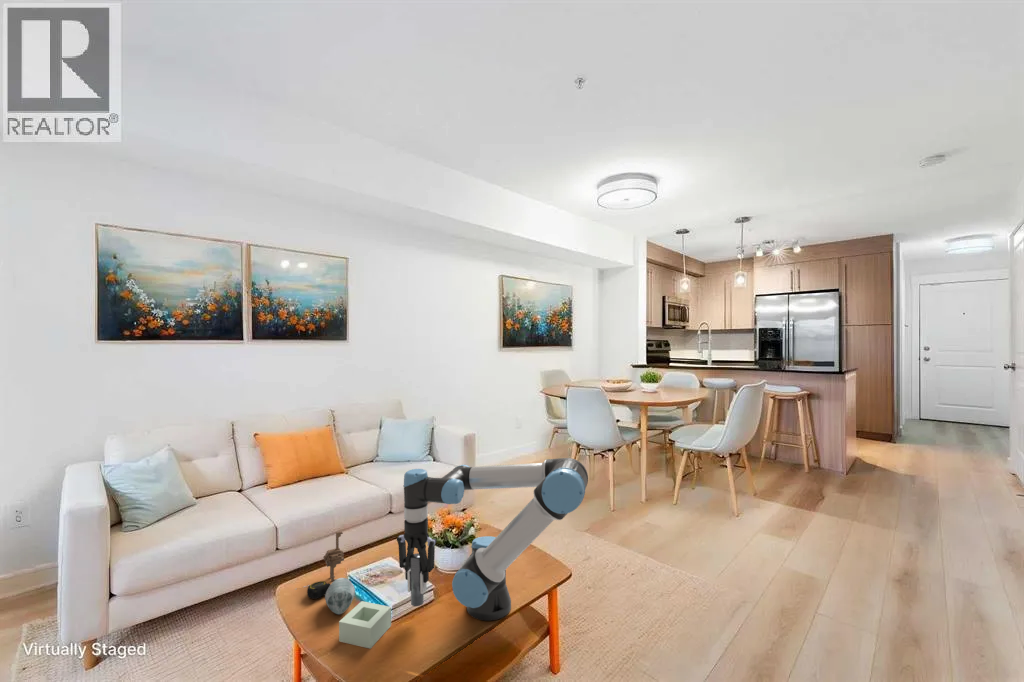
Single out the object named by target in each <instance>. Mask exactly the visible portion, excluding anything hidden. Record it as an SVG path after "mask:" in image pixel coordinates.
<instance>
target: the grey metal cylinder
mask: <svg viewBox="0 0 1024 682" xmlns="http://www.w3.org/2000/svg"><path fill="white" fill-rule="evenodd" d="M410 569H411V591H410V604H411V606H413V607H420V606H422V605H423V604H424V598H425V597H424V593H423V594H420V573H421V572H422V567H421V562H420V556H419V552H418V553H414V554H413V555H412V556H411V557H410Z"/></svg>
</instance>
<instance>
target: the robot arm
mask: <svg viewBox="0 0 1024 682" xmlns="http://www.w3.org/2000/svg"><path fill="white" fill-rule="evenodd" d="M403 477H404V478H403V501H404V503H403V505H404V506H403V518H404V520H403V521H404V522H403V523H404V524H403V526H404V527H403V528H404V529H403V530H404V533H403V534H400V535H398V537H397V538H396V542H397V545H398V559H399V561H398V564H399V568H400V569H403V570H404V572H405V573H404V574H405V576H404V577H405V580H406V581H407V593H411V569H410V557H411V556H412V555H413V554H415V549H416V550H417V552H418V553H419V556H420V562H421V567H422V572H421V573H420V594H423V595H424V593H425V592H426V591H427V589H428V588H427V586H428V584H427V583H428V581H429V580H430V579H429V578H430V576H429V574H430V573H431V572H432V571H433V569H434V568H435V552H436V550H435V548H436V543H437V541H438V540H437V539H436V538H431V537H430V535H429V533H428V532H429V530H428V529H429V518H428V516H429V515H428V514H429V512H428V508H429V507H428V505H429V504H428V503H437V504H445V505H446V504H447V505H453V504H454V505H458V504H460V503H461V502H462V500H463V498H464V495H465V491H471V490H472V491H473V490H493V489H496V490H497V489H518V488H519V489H520V488H534V490H533V498H532V499H530V501H529V502H528V503H527V504H526V505H525V506H524V508H522V510H521V511H519V512H518V514H517V515H516V516H515V517H514V518H513V519H512V520H511V521H510V522H508V524H507V525H506V526H505V528H504V529H502V531H501V532H500V533H499V534H498V535H497V536H491V535H490V536H488V535H487V536H485V535H484V536H479V537H476V538H474V539H473V540H472V542H471V546H470V548H471V552H470V553H471V554H470V555H469V556H468V557H467V559H466V560H465V561H464V563H463V564H462V565H461V567H460V568H459V569H458V570H457V571H456V572H455V574H454V576H453V578H452V583H451V586H452V588H451V589H452V593H453V595H454V597H455V599H456V600H457V601H458V602H459V603H460V604H461V605H462V606H465V607H466V611H467V613H468V614H469V615H470V616H471V617H472V618H473V619H477V620H480V621H486V622H491V621H496V620H500V619H502V618H504V617H505V616H507V615H508V614H509V613H510V611H511V609H512V598H511V595H510V592H509V589H508V586H507V569H508V568H509V567H510V566H511V565H512V564H513V563H514V562H515V561H516V560H517V559H518V558H519V557H520V555H521V554H522V553H523V552H524V551H525V550H526V549H527V548H528V547H529V546H531V544H532V543H533V542H534V541H535V540H536V539H537V538H538V537H539V536H540V535H541V533H543V532H544V531H545V530H547V528H548V527H549V525H551V524H552V522H553V521H555V520H556V521H562V520H563V519H564V518H565V517H566V516H567V515H568V514H569V513H572V512H574V511H575V510H576V509H577V508H579V506H580V505H581V504H582V503H583V500H584V498H585V495H586V494H585V493H586V489H587V486H588V483H589V475H588V471H587V469H586V467H585V465H584V464H583V463H582V462H581V461H579V460H577V459H575V458H571V457H560V458H558V457H557V458H548V459H544V461H543V462H535V463H533V462H532V463H517V464H503V465H501V464H500V465H499V464H498V465H485V466H484V465H483V466H480V465H479V466H470V465H467V464H460V465H458V466H456V467H454V468H453V469H452V470H451V471H450V472H448V473H447V474H445V475H444V476H442V477H432V476H431V477H430V476H429V474H428V471H427V470H426V469H423V468H413V469H408V470H407V471H406V472H404V476H403ZM426 543H427V546H428V548H427V546H426ZM406 544H407V545H406ZM426 548H427V549H426Z"/></svg>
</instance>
